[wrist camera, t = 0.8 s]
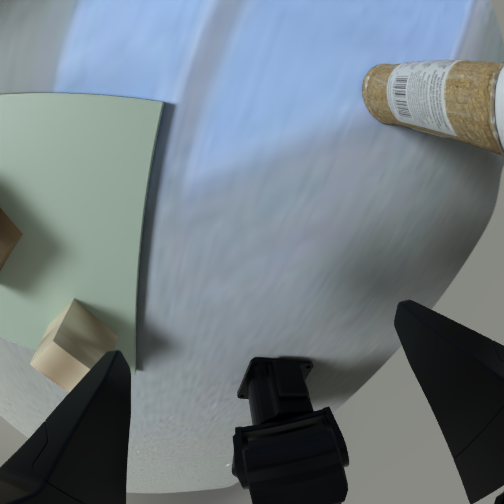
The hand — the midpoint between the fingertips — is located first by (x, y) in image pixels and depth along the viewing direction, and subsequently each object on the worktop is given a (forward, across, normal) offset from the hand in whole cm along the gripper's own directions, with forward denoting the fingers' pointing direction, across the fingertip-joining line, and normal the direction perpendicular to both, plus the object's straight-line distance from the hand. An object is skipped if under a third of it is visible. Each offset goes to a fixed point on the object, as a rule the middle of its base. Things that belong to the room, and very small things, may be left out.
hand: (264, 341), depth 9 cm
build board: (+13, +18, 0) cm, 22 cm away
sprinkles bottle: (+13, -12, -7) cm, 19 cm away
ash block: (+12, +15, +8) cm, 21 cm away
